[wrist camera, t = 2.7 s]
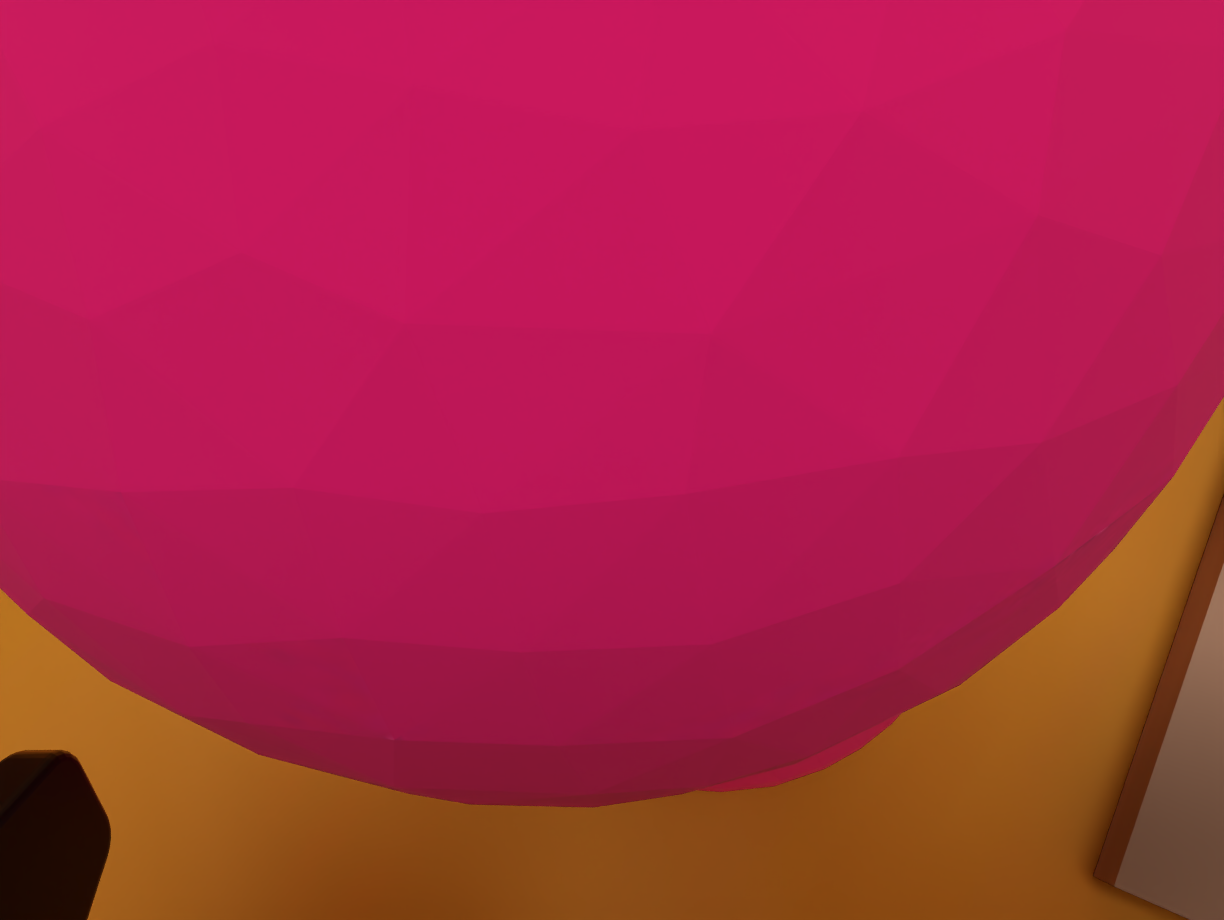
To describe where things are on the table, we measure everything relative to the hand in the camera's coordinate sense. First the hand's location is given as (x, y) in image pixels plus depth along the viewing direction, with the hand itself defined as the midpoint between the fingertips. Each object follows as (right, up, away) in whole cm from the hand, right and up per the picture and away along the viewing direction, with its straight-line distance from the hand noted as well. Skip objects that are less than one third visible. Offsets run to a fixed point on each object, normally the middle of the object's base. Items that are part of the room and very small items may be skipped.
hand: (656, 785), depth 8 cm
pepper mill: (+2, 0, +12) cm, 12 cm away
